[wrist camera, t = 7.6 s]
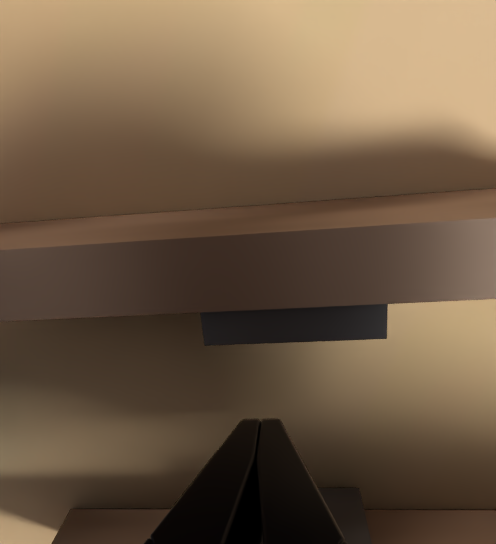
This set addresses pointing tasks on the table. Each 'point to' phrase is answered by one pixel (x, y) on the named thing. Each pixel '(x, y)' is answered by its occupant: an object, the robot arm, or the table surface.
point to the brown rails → (263, 301)
